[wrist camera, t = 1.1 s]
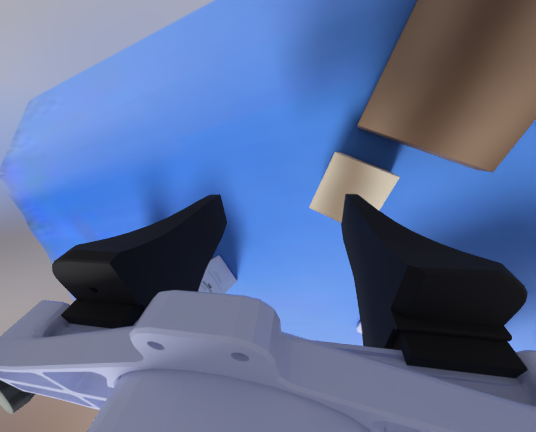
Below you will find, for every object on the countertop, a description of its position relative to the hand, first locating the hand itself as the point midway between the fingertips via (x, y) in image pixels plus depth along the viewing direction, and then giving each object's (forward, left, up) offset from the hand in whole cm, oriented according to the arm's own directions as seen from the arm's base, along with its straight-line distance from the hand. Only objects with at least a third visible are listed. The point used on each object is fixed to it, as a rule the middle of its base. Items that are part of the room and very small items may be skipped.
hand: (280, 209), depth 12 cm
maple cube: (-3, -1, -12) cm, 12 cm away
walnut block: (-6, -11, -12) cm, 18 cm away
